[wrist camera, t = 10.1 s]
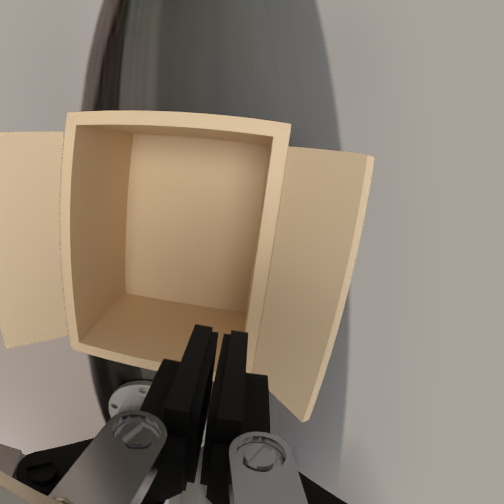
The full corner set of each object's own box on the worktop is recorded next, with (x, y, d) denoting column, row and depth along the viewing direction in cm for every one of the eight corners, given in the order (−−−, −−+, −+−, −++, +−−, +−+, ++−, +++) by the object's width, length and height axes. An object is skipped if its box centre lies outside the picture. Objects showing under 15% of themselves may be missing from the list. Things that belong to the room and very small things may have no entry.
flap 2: (288, 146, 15) (295, 148, 16) (252, 373, 19) (258, 371, 19) (367, 154, 11) (374, 157, 12) (302, 422, 15) (309, 419, 16)
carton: (253, 317, 29) (250, 386, 20) (121, 295, 29) (71, 348, 20) (280, 138, 25) (291, 124, 15) (130, 125, 25) (67, 112, 15)
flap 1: (68, 335, 19) (66, 332, 19) (64, 131, 15) (62, 132, 16) (5, 348, 16) (5, 344, 16) (-13, 133, 12) (-13, 133, 12)
